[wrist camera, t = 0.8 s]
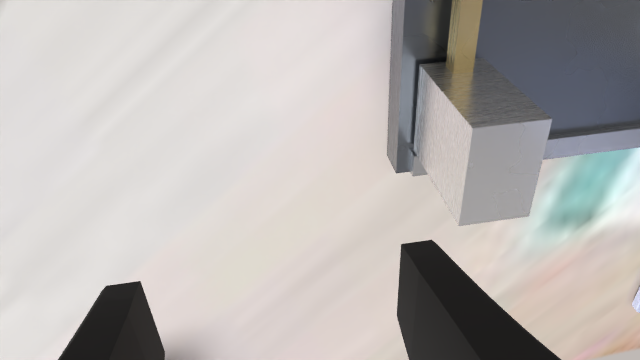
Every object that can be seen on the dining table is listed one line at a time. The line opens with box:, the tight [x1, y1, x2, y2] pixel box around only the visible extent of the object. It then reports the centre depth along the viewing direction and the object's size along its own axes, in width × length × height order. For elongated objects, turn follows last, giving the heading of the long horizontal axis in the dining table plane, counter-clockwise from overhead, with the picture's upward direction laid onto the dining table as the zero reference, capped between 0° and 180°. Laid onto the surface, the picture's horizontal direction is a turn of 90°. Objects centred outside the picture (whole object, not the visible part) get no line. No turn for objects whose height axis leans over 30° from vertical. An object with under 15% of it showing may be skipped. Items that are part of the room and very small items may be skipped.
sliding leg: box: [414, 0, 552, 226], centre depth 14 cm, size 2×5×4 cm, turn 2°
